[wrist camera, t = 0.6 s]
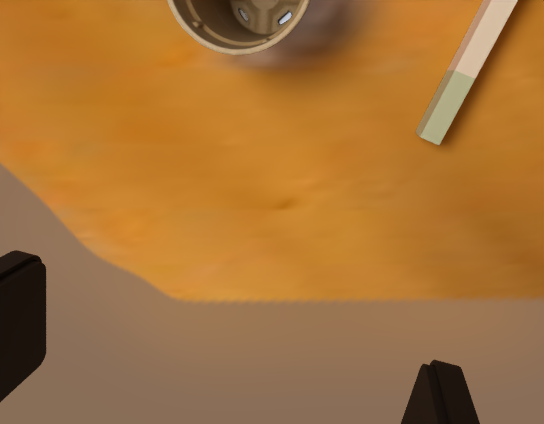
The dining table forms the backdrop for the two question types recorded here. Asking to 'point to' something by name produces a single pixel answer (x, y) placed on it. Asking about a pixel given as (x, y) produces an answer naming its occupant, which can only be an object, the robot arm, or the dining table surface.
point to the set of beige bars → (464, 68)
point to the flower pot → (237, 22)
